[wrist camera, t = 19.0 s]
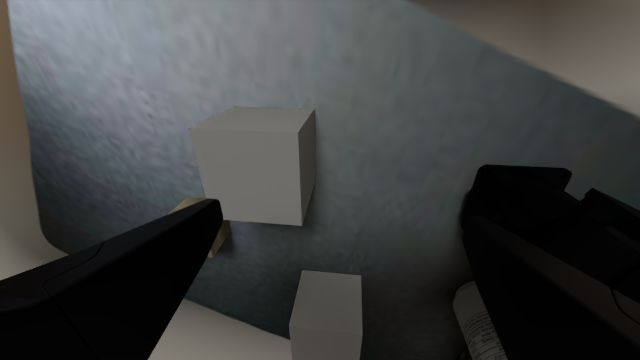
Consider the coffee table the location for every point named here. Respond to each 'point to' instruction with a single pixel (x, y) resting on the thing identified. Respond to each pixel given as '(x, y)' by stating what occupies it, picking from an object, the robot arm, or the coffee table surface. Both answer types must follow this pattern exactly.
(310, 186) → the grey piece
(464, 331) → the energy drink can
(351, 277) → the grey stool
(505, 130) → the coffee table surface
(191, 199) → the brown wooden cube
